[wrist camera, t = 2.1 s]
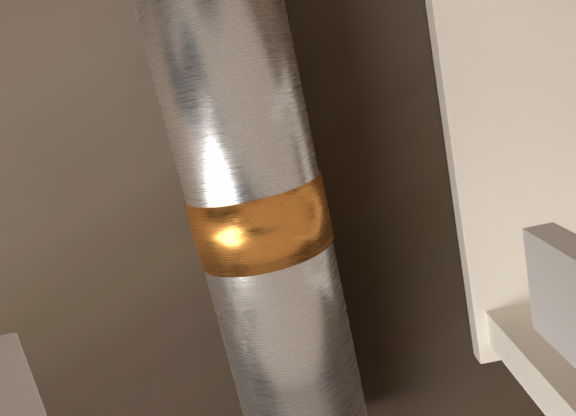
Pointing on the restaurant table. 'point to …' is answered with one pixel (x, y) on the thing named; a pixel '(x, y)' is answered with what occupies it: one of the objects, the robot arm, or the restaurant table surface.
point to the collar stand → (509, 167)
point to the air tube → (255, 200)
